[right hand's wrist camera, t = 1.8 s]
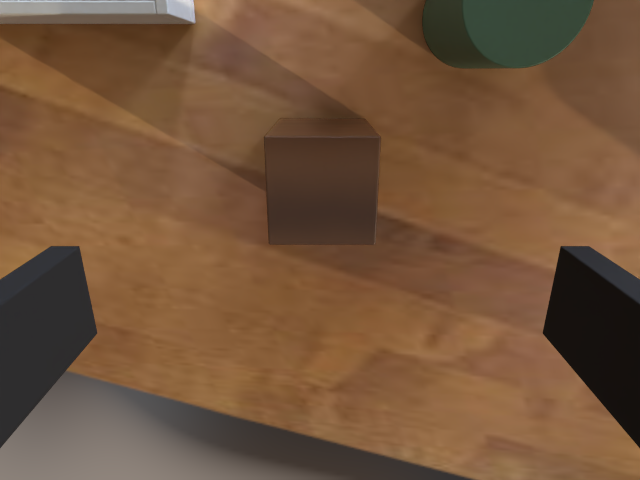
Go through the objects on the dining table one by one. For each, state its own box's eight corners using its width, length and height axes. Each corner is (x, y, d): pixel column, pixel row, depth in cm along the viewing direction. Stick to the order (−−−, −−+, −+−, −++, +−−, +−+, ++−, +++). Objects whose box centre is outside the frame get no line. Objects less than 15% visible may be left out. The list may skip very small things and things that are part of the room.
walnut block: (279, 118, 28) (263, 136, 21) (365, 118, 28) (381, 136, 21) (281, 201, 30) (268, 245, 23) (362, 201, 30) (375, 245, 23)
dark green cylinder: (467, -61, 25) (530, -117, 17) (537, 5, 26) (625, -20, 18) (402, 29, 26) (434, 13, 19) (472, 87, 28) (527, 94, 20)
